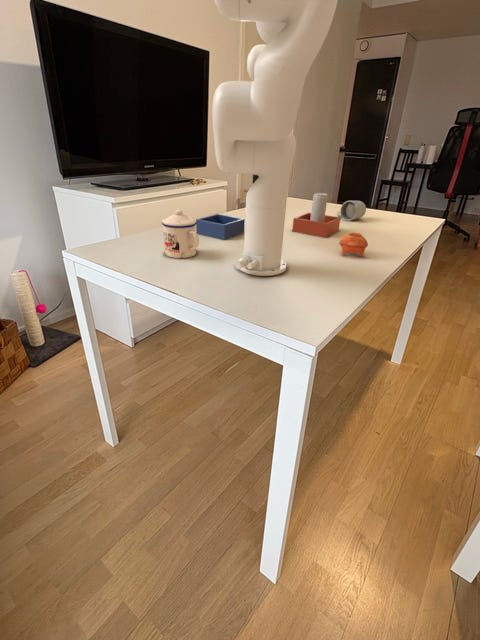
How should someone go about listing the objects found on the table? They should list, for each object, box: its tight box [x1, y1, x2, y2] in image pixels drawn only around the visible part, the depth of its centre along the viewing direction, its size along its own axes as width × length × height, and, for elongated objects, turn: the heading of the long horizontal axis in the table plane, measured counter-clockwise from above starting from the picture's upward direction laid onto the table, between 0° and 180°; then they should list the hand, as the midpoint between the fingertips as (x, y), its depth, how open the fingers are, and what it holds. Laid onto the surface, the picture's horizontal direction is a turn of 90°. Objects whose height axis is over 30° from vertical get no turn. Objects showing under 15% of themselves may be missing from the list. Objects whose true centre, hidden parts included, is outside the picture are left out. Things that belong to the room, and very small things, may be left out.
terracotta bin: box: [291, 212, 342, 239], centre depth 122 cm, size 13×13×5 cm
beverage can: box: [310, 192, 328, 223], centre depth 120 cm, size 5×5×12 cm
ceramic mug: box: [337, 200, 367, 222], centre depth 141 cm, size 11×8×8 cm
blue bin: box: [195, 213, 245, 241], centre depth 115 cm, size 12×12×5 cm
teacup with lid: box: [161, 209, 200, 259], centre depth 92 cm, size 12×9×12 cm
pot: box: [339, 232, 369, 258], centre depth 99 cm, size 8×8×7 cm
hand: (262, 182), depth 100 cm, fingers closed on blue block, 4 cm apart
